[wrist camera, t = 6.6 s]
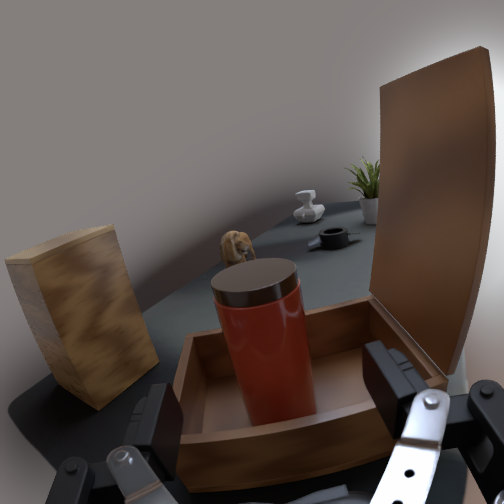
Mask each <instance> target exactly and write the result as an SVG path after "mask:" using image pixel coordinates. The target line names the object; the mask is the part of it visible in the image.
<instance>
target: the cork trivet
mask: <svg viewBox="0 0 504 504" xmlns="http://www.w3.org/2000/svg"><path fill="white" fill-rule="evenodd" d="M112 230H114V225H113V224H111V225H105V226H99V227H93V228H88V229H82V230H77V231H72V232H69V233H66V234H64V235H61V236H58V237H56V238H53V239H51V240H49V241H46V242H44V243H41V244H39V245H36V246H34V247H32V248H29V249H27V250H25V251H22V252H20V253H18V254H15V255H13V256H11V257H8V258H6V259H5V263H6V264H21V265H33V264H35V263H37V262H39V261H41V260H44V259H46V258H48V257H50V256H53V255H55V254H57V253H60V252H62V251H64V250H66V249H69V248H71V247H73V246H76V245H78V244H81V243H83V242H85V241H88V240H90V239H93V238H95V237H97V236H100V235H102V234H105V233H107V232H110V231H112Z"/></svg>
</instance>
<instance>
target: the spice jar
mask: <svg viewBox="0 0 504 504" xmlns="http://www.w3.org/2000/svg"><path fill="white" fill-rule="evenodd" d="M211 287H212V290H213V294H214V297H213V300H214V304H215V308H216V311H217V315H218V319H219V322H220V326H221V329H222V333H223V336H224V340H225V344H226V347H227V350H228V354H229V357H230V361H231V364H232V367H233V371H234V374H235V378H236V381H237V384H238V387H239V391H240V394H241V397H242V400H243V404H244V407H245V410H246V413H247V416H248V419H249V422H250V424H251V425H252V426H253V427H254V426H260V425H266V424H271V423H277V422H282V421H287V420H292V419H297V418H301V417H306V416H310V415H315V414H316V413H317V408H318V407H317V397H316V389H315V381H314V373H313V366H312V358H311V351H310V344H309V337H308V330H307V323H306V316H305V309H304V303H303V296H302V290H301V283H300V280H299V278H298V275H297V269H296V265H295V264H294V263H293V262H292V261H290V260H287V259H282V258H264V259H256V260H251V261H247V262H243V263H239V264H236V265H234V266H231V267H229V268H226V269H224V270H223V271H221V272H219V273H218V274H217V275H215V276H214V277H213V279H212V281H211Z"/></svg>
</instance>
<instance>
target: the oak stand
mask: <svg viewBox="0 0 504 504" xmlns="http://www.w3.org/2000/svg"><path fill="white" fill-rule="evenodd" d="M6 266H7V269H8V272H9V275H10V278H11V281H12V284H13V287H14V289H15V292H16V294H17V297H18V300H19V302H20V305H21V307H22V309H23V312H24V315H25V317H26V319H27V322H28V324H29V326H30V328H31V331H32V333H33V335H34V337H35V339H36V342H37V344H38V346H39V348H40V350H41V352H42V354H43V356H44V358H45V360H46V362H47V364H48V366H49V368H50V370H51V371H52V373H53V375H54V377H55V379H56V381H57V382H58V384H59V385H60V386H62V387H63V388H65V389H66V390H68V391H69V392H70V393H72V394H73V395H75V396H76V397H78V398H79V399H81V400H82V401H84V402H85V403H87V404H88V405H90V406H91V407H93V408H95V409H96V410H98V411H99V410H101V409H102V408H103V407H104V406H106V405H107V404H108V403H109V402H111V401H112V400H113V399H114V398H116V397H117V396H118V395H119V394H121V393H122V392H123V391H124V390H126V389H127V388H128V387H129V386H130V385H132V384H133V383H134V382H135V381H137V380H138V379H139V378H140V377H142V376H143V375H144V374H145V373H146V372H148V371H149V370H150V369H151V368H153V367H154V366H155V365H156V364H157V363H159V359H158V357H157V354H156V352H155V349H154V347H153V344H152V341H151V339H150V336H149V334H148V331H147V328H146V326H145V323H144V320H143V317H142V315H141V312H140V309H139V306H138V303H137V300H136V297H135V294H134V291H133V288H132V285H131V283H130V279H129V276H128V273H127V270H126V267H125V263H124V260H123V257H122V253H121V250H120V247H119V243H118V240H117V236H116V232H115V230H112V231H110V232H107V233H105V234H102V235H100V236H97V237H95V238H93V239H90V240H88V241H85V242H83V243H81V244H78V245H76V246H73V247H71V248H69V249H66V250H64V251H62V252H60V253H57V254H55V255H53V256H50V257H48V258H46V259H44V260H41V261H39V262H37V263H35V264H33V265H21V264H6Z"/></svg>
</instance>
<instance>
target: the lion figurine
mask: <svg viewBox="0 0 504 504" xmlns="http://www.w3.org/2000/svg"><path fill="white" fill-rule="evenodd" d="M248 251H249V252H250V254H251V260H256V257H255V252H254V250H253V249H252V245H251V241H250V239H249V237H248V236H247V234H245V233H242V232H236V231H229V232H228V233H226V234H225V235H224V236H223V237H222V240H221V243H220V255H221V258H222V261H223V262H225V265H226V268H229V267H231V266H234V265H236V264H239V263H243V262H246V259H245V258H246V257H247V255H248Z"/></svg>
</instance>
